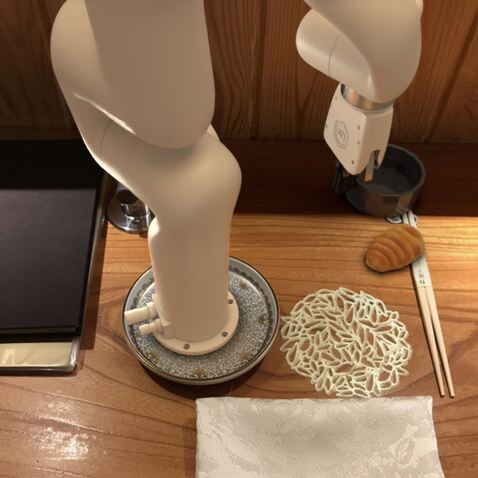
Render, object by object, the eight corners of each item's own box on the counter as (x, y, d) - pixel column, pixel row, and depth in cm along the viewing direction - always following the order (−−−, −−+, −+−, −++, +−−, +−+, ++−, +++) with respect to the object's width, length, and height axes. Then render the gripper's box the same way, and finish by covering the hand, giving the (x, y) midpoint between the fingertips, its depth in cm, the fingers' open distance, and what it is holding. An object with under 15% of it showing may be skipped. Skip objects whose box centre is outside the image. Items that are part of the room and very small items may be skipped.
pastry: (385, 284, 84) (391, 268, 81) (353, 256, 87) (358, 240, 84) (426, 255, 88) (434, 238, 84) (394, 229, 90) (401, 212, 87)
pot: (365, 226, 90) (373, 204, 86) (331, 175, 96) (336, 152, 92) (430, 206, 93) (440, 184, 89) (392, 158, 99) (400, 135, 95)
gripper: (319, 60, 78) (301, 163, 93) (372, 127, 70) (343, 227, 86) (366, 50, 80) (341, 153, 95) (423, 114, 72) (386, 214, 88)
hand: (342, 188), depth 90 cm, fingers closed
